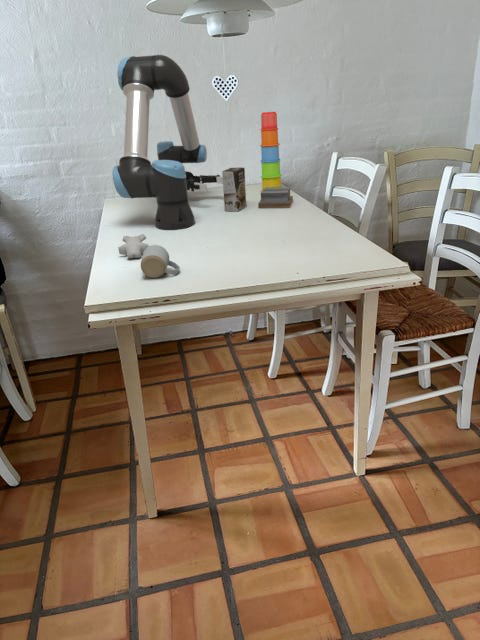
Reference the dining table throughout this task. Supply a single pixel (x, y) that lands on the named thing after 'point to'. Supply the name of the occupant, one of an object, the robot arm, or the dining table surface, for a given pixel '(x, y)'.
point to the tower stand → (275, 197)
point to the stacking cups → (270, 151)
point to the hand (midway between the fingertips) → (217, 184)
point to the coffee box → (234, 189)
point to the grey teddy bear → (133, 246)
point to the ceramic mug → (157, 262)
